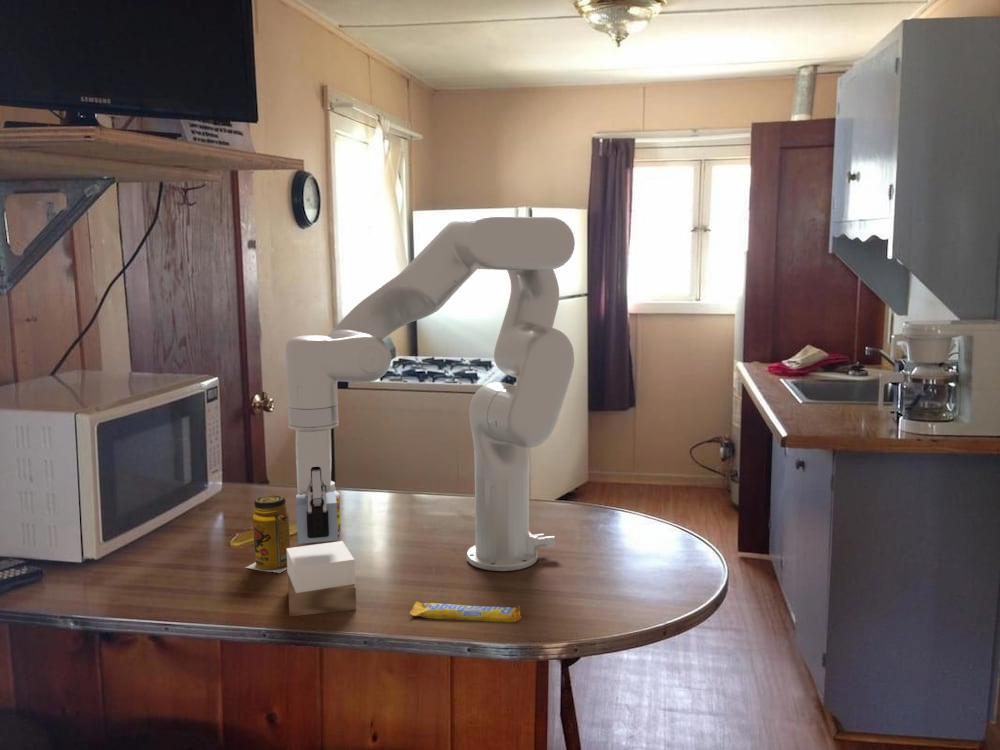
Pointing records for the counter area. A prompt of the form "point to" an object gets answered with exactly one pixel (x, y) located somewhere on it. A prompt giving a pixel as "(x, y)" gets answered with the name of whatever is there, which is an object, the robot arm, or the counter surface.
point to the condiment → (270, 534)
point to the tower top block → (320, 566)
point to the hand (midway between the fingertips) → (317, 528)
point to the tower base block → (321, 600)
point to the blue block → (302, 518)
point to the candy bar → (465, 612)
